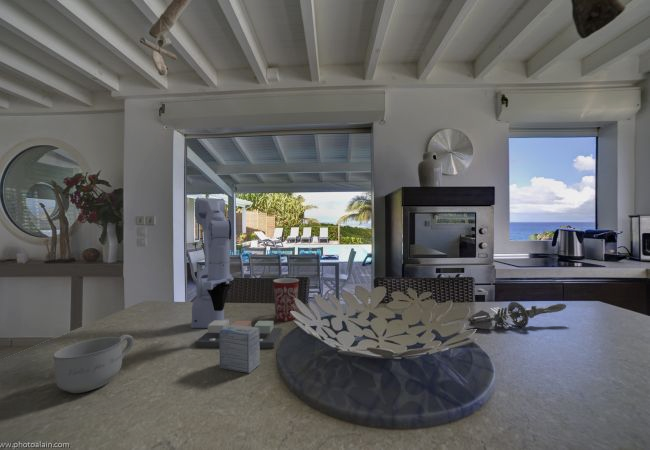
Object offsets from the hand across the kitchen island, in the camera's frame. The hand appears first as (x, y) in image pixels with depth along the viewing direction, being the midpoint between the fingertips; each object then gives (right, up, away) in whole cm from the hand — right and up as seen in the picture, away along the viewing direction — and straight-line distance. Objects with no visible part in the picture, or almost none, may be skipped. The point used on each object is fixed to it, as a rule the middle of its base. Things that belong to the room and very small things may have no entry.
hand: (218, 310), depth 81 cm
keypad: (+6, -8, 0) cm, 11 cm away
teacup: (-16, -8, -23) cm, 29 cm away
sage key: (+13, -6, -1) cm, 14 cm away
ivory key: (0, -6, 0) cm, 6 cm away
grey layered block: (+11, -8, -17) cm, 21 cm away
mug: (+16, -9, +21) cm, 28 cm away
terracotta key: (+6, -6, 0) cm, 9 cm away
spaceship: (+92, -8, +10) cm, 93 cm away
